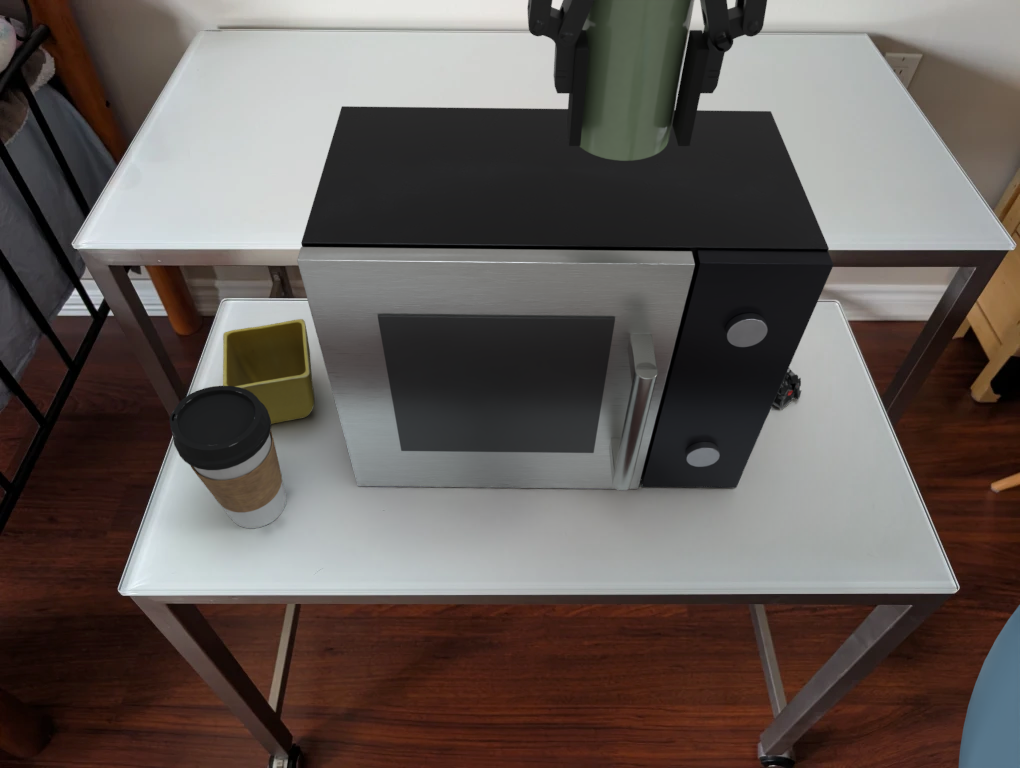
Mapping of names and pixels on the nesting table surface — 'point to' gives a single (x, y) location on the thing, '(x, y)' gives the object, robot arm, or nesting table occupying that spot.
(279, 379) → the flower pot
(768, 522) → the nesting table surface
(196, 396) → the coffee cup
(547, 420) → the microwave door
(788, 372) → the toy car
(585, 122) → the canister
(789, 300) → the microwave
